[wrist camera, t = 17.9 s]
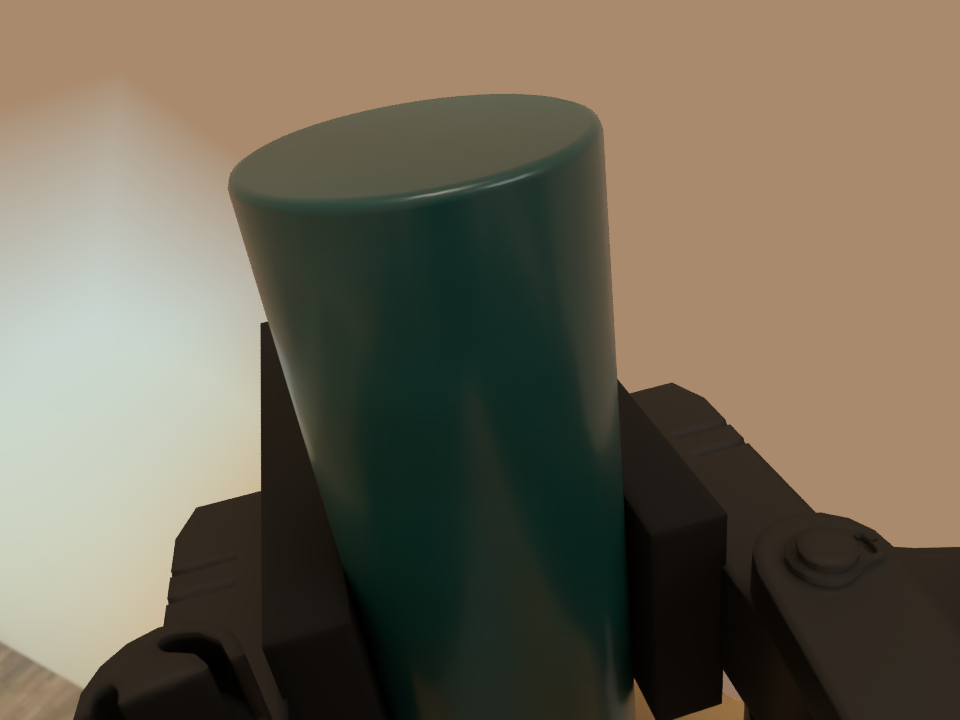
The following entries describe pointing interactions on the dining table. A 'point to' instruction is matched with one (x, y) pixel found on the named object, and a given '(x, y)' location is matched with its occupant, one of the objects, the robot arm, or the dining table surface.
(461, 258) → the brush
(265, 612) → the robot arm
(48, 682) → the dining table surface
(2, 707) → the dining table surface
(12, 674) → the dining table surface
